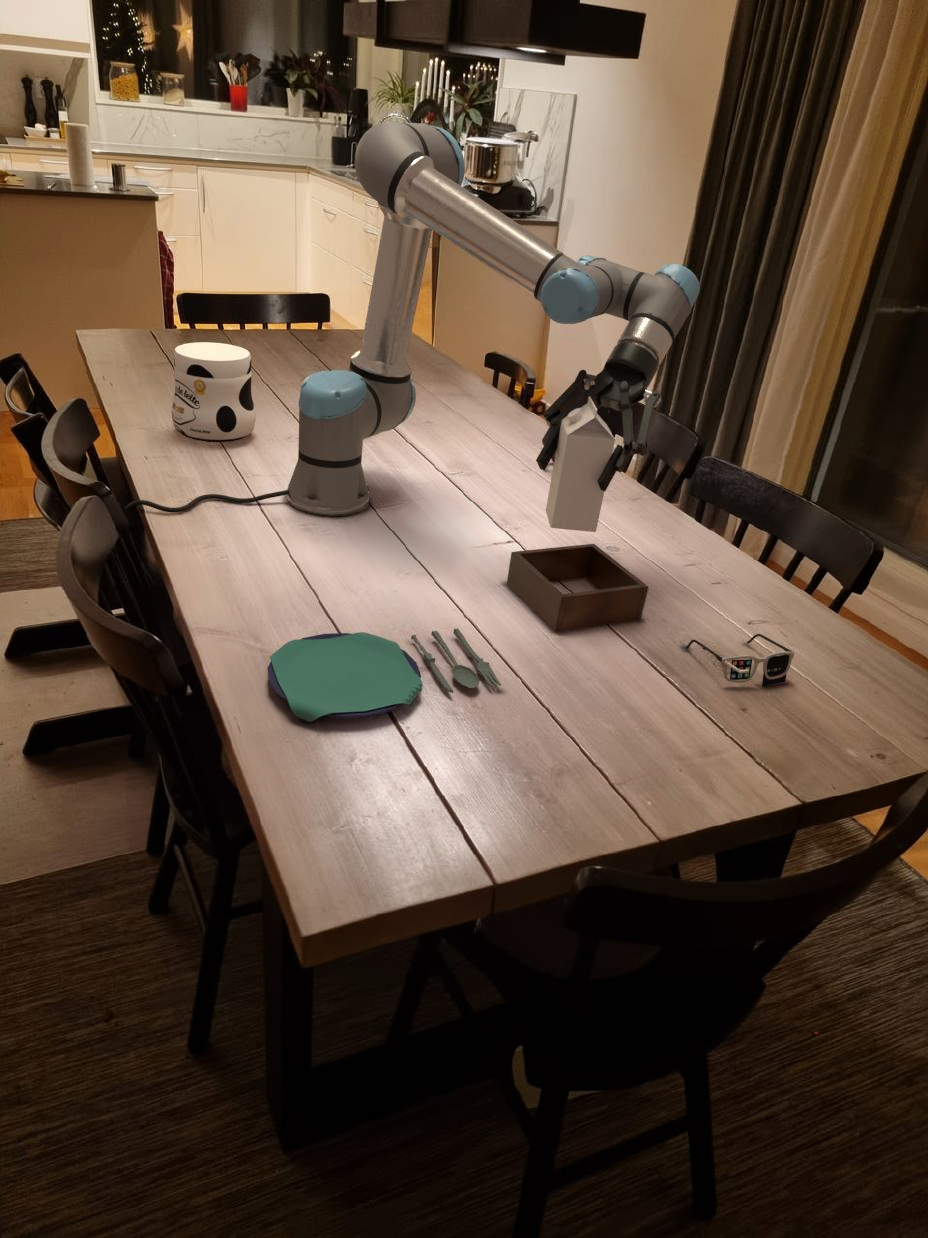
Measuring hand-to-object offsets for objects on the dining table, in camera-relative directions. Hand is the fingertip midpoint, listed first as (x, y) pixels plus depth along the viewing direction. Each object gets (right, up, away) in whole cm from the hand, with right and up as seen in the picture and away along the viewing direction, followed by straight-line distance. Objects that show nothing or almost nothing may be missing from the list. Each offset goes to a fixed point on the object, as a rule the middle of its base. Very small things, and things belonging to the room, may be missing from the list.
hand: (570, 475), depth 137 cm
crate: (+2, -19, +11) cm, 22 cm away
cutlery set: (-27, -30, -15) cm, 43 cm away
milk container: (-70, +18, +61) cm, 94 cm away
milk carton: (+1, -6, +6) cm, 9 cm away
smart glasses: (+25, -29, -2) cm, 38 cm away
